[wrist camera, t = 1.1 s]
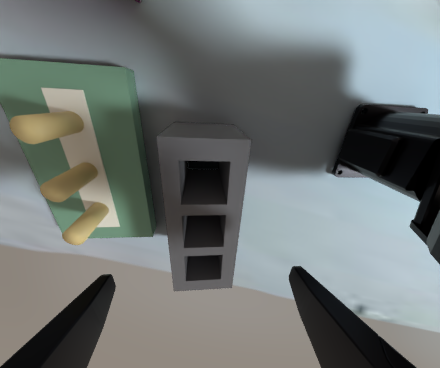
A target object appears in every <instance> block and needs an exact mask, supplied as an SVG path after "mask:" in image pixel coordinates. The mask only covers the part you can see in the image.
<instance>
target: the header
mask: <svg viewBox="0 0 440 368" xmlns="http://www.w3.org/2000/svg"><path fill="white" fill-rule="evenodd" d="M0 103H1V105H2V107H3V109H4V112H5V114H6V116H7V118H8V120H9V122H10V129H11V131H12V132H13V134H14V135H15V136H16V137H17V139H18V141H19V143H20V145H21V147H22V150H23V152H24V154H25V156H26V158H27V160H28V162H29V164H30V166H31V169H32V171H33V173H34V175H35V177H36V179H37V181H38V183H39V185H40V191H41V193H42V195H43V196H44V197H45V198H46V200H47V202H48V204H49V206H50V209H51V211H52V213H53V215H54V217H55V219H56V221H57V223H58V225H59V228H60V230H61V232H62V237H63V239H64V240H65V241H66V242H67V243H69V244H72V245H80V244H83V243H84V242H85V240H86V239H87V238H119V237H153V234H154V232H155V229H156V220H155V214H154V207H153V200H152V193H151V187H150V180H149V173H148V166H147V159H146V153H145V146H144V139H143V132H142V125H141V119H140V112H139V105H138V98H137V92H136V85H135V78H134V71H133V70H130V69H128V68H125V67H113V66H100V65H86V64H72V63H59V62H45V61H32V60H18V59H4V58H0Z"/></svg>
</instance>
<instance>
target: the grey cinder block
mask: <svg viewBox="0 0 440 368" xmlns="http://www.w3.org/2000/svg"><path fill="white" fill-rule="evenodd" d="M156 138H157V147H158V156H159V165H160V174H161V182H162V191H163V200H164V209H165V218H166V226H167V235H168V244H169V253H170V262H171V270H172V279H173V288H174V291H186V290H203V289H219V288H232V283H233V275H234V268H235V260H236V253H237V245H238V237H239V230H240V222H241V215H242V207H243V200H244V192H245V185H246V177H247V170H248V162H249V155H250V147H251V139H250V138H249V137H247V136H246V135H245V134H244V133H243V132H241V131H240V130H239V129H238V128H237V127H235V126H234V125H233V124H210V123H187V122H174V123H173V124H171V125H170V126H169V127H168V128H166V129H165V130H164V131H163V132H162V133H160V134H159V135H158V136H157V137H156ZM188 161H219V169H189V168H188Z"/></svg>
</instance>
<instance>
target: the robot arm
mask: <svg viewBox="0 0 440 368" xmlns="http://www.w3.org/2000/svg"><path fill="white" fill-rule="evenodd" d="M363 109H364V110H363ZM362 110H363V112H362ZM361 112H362V113H361ZM338 171H339V173H338ZM332 173H333V175H335V176H336V177H369V178H371V179H373V180H375V181H377V182H379V183H381V184H383V185H385V186H388V187H390V188H392V189H394V190H396V191H398V192H400V193H402V194H404V195H407V196H409V197H411V198H413V199H415V200H417V201H419V202H420V204H419V207H418V209H417V212H416V215H415V218H414V220H412V221H411V224H410V228H411V229H412V230H413V231H414V232H415V233H416V234H417V235H418V236H419V237H420V238H421V239H422V241H423V242H424V243H425V244H426V245H427V246H428V248H429V251H430V254H431V255H432V256H433V257H434V258H435V259H436V261H437V262H438V263H439V264H440V115H436V114H428V109H426V108H414V107H397V106H380V105H360V106H358V107H357V108H356V110H355V113H354V115H353V118H352V121H351V123H350V126H349V129H348V131H347V134H346V137H345V139H344V142H343V145H342V147H341V150H340V153H339V155H338V158H337V161H336V163H335V166H334V169H333V172H332ZM289 282H290V285H291V288H292V292H293V295H294V298H295V301H296V305H297V308H298V311H299V314H300V316H301V319H302V321H303V324H304V326H305V329H306V331H307V334H308V336H309V338H310V341H311V343H312V346H313V348H314V351H315V353H316V356H317V358H318V361H319V363H320V366H321V368H416V367H415V366H414V365H413V364H411V363H410V362H409V361H408V360H407V359H406V358H404V357H403V356H402V355H401V354H400V353H398V352H397V351H396V350H395V349H394V348H393V347H392V346H390V345H389V344H388V343H387V342H386V341H385V340H384V339H383V338H381V337H380V336H378V334H377V333H376V332H375V331H373V330H372V329H371V328H370V327H369V326H368V325H367V324H366V323H364V322H363V321H362V320H361V319H360V318H359V317H358V316H356V315H355V314H354V313H353V312H352V311H351V310H350V309H349V308H347V307H346V306H345V305H344V304H343V303H342V302H341V301H340V300H338V299H337V298H336V297H335V296H334V295H333V294H332V293H330V292H329V291H328V290H327V289H326V288H325V287H324V286H323V285H321V284H320V283H319V282H318V281H317V280H316V279H315V278H314V277H312V276H311V275H310V274H309V273H308V272H307V271H306V270H305V269H303V268H302V267H301V266H293V267H292V269H291V272H290V274H289ZM115 287H116V286H115V282H114V279H113V276H112V275H111V274H104V275H101V276H100V277H99V278H97V280H95V281H94V282H93V283H92V284H91V285H90V286H89V287H88V288H86V290H84V291H83V292H82V293H81V294H80V295H79V296H78V297H77V298H75V299H74V300H73V301H72V302H71V303H70V304H69V305H68V306H67V307H66V308H64V309H63V310H62V311H61V312H60V313H59V314H58V315H57V316H56V317H55V318H53V319H52V320H51V321H50V322H49V323H48V324H47V325H46V326H45V327H44V328H42V329H41V330H40V331H39V332H38V333H37V334H36V335H35V336H34V337H33V338H32V339H30V340H29V341H28V342H27V343H26V344H25V345H24V346H23V347H22V348H20V349H19V350H18V351H17V352H16V353H15V354H14V355H13V356H12V357H11V358H10V359H8V360H7V361H6V362H5V363H4V364H3V365H2V366H1V367H0V368H87V366H88V363H89V361H90V358H91V356H92V354H93V351H94V349H95V347H96V344H97V342H98V339H99V337H100V334H101V332H102V329H103V327H104V324H105V321H106V317H107V314H108V311H109V308H110V305H111V301H112V298H113V295H114V292H115Z"/></svg>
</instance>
